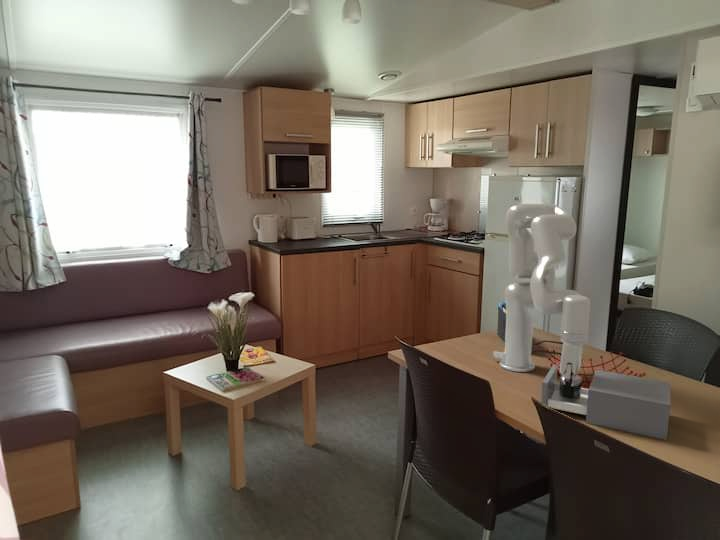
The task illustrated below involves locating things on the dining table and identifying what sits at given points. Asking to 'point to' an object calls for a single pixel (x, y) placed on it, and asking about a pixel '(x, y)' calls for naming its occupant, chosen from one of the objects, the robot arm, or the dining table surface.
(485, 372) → the dining table surface
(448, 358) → the dining table surface
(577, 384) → the tin
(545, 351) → the eyeglasses
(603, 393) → the block
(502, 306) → the game console
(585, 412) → the tray
